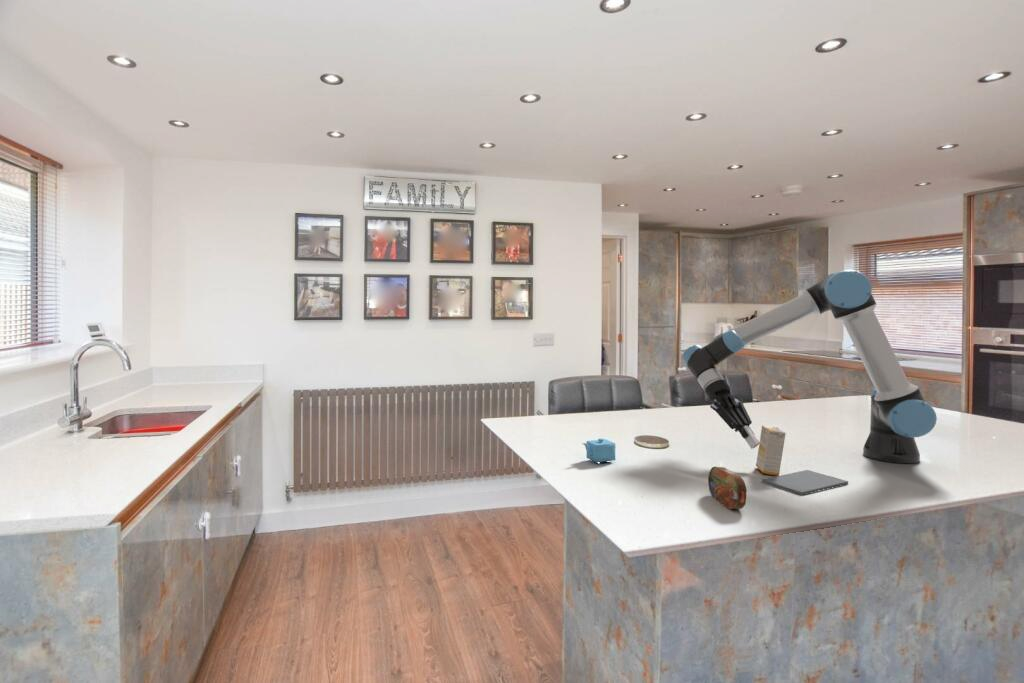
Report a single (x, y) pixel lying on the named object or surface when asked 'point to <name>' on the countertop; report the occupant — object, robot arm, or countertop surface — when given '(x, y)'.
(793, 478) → the mat
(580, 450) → the countertop surface
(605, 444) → the teapot
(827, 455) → the countertop surface
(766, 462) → the supplement box
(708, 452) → the countertop surface
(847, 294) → the robot arm
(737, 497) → the multicoloured flat oval slab
